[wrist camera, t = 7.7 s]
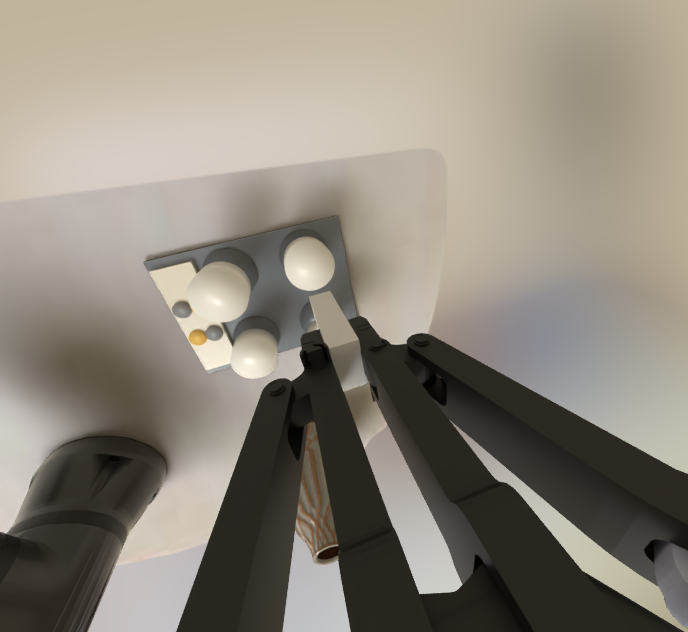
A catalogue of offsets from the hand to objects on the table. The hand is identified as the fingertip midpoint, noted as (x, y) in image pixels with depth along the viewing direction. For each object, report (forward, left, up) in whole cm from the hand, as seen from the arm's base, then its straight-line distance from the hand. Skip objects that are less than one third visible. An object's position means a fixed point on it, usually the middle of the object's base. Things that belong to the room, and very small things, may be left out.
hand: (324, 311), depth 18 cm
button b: (-9, 0, -13) cm, 16 cm away
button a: (-9, -9, -15) cm, 20 cm away
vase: (-7, -31, -17) cm, 36 cm away
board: (-6, -4, -16) cm, 18 cm away
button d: (0, 0, -15) cm, 15 cm away
